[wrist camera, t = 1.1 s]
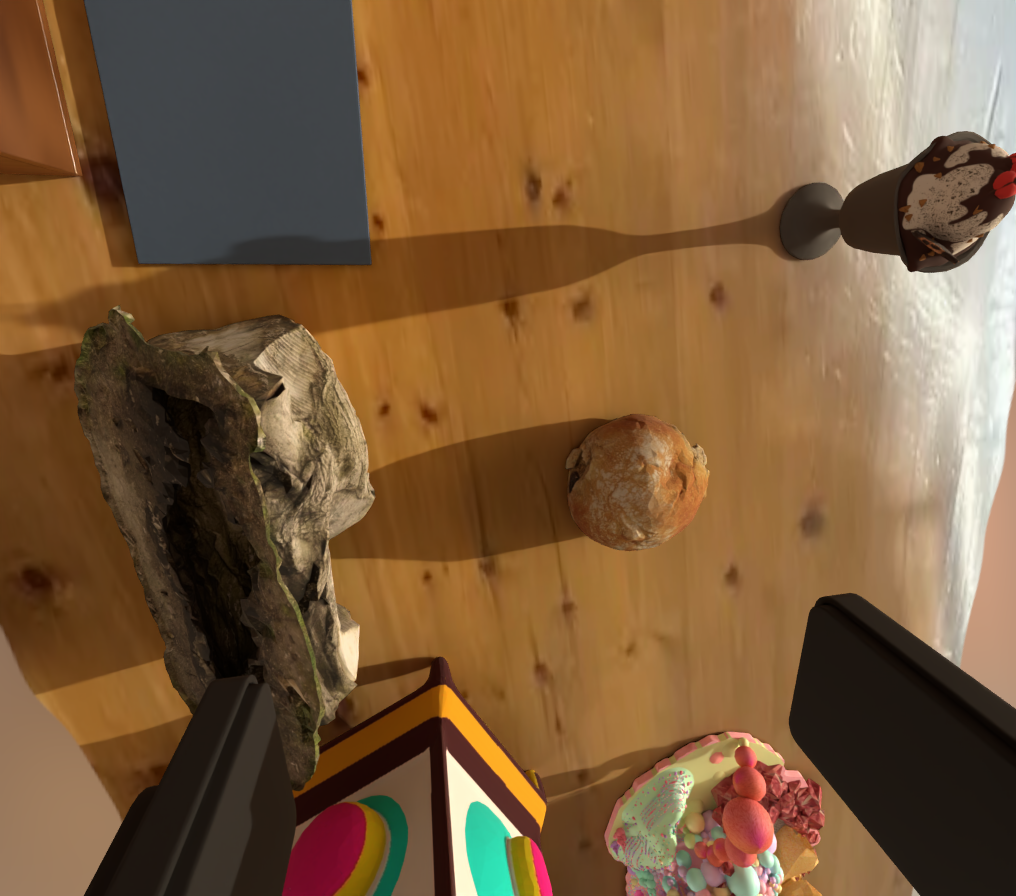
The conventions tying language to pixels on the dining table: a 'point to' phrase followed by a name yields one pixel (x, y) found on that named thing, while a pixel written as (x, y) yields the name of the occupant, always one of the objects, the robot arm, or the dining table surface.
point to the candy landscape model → (718, 823)
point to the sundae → (911, 207)
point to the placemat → (236, 129)
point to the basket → (32, 96)
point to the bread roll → (635, 482)
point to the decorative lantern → (419, 807)
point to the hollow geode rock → (234, 505)
